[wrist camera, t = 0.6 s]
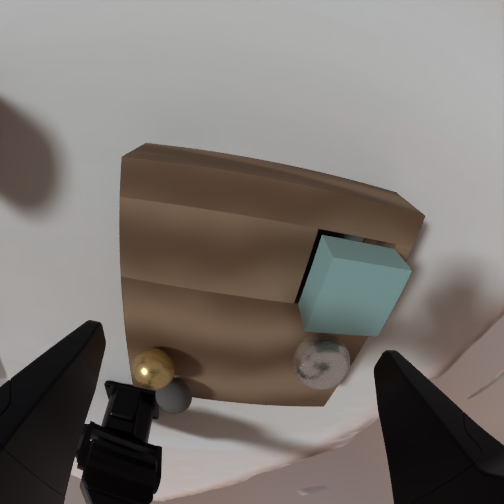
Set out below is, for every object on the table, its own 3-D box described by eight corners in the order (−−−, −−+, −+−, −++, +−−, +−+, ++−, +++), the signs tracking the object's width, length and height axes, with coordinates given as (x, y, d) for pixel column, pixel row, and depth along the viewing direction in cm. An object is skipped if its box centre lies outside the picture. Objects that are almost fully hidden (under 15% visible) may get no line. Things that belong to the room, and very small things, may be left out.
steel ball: (331, 360, 23) (342, 400, 19) (283, 357, 22) (288, 400, 19) (350, 324, 21) (366, 365, 17) (298, 319, 20) (307, 363, 17)
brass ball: (177, 369, 23) (171, 401, 20) (139, 362, 22) (130, 393, 20) (178, 343, 21) (171, 377, 18) (136, 335, 21) (125, 368, 18)
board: (316, 372, 30) (323, 406, 26) (143, 351, 28) (133, 386, 24) (396, 192, 20) (425, 215, 17) (145, 143, 18) (121, 156, 15)
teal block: (365, 311, 20) (377, 336, 18) (298, 304, 19) (304, 331, 17) (394, 249, 17) (412, 270, 15) (321, 234, 17) (332, 257, 15)
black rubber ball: (192, 394, 24) (189, 422, 22) (159, 388, 24) (153, 416, 22) (194, 374, 23) (190, 404, 20) (158, 368, 23) (151, 398, 20)
